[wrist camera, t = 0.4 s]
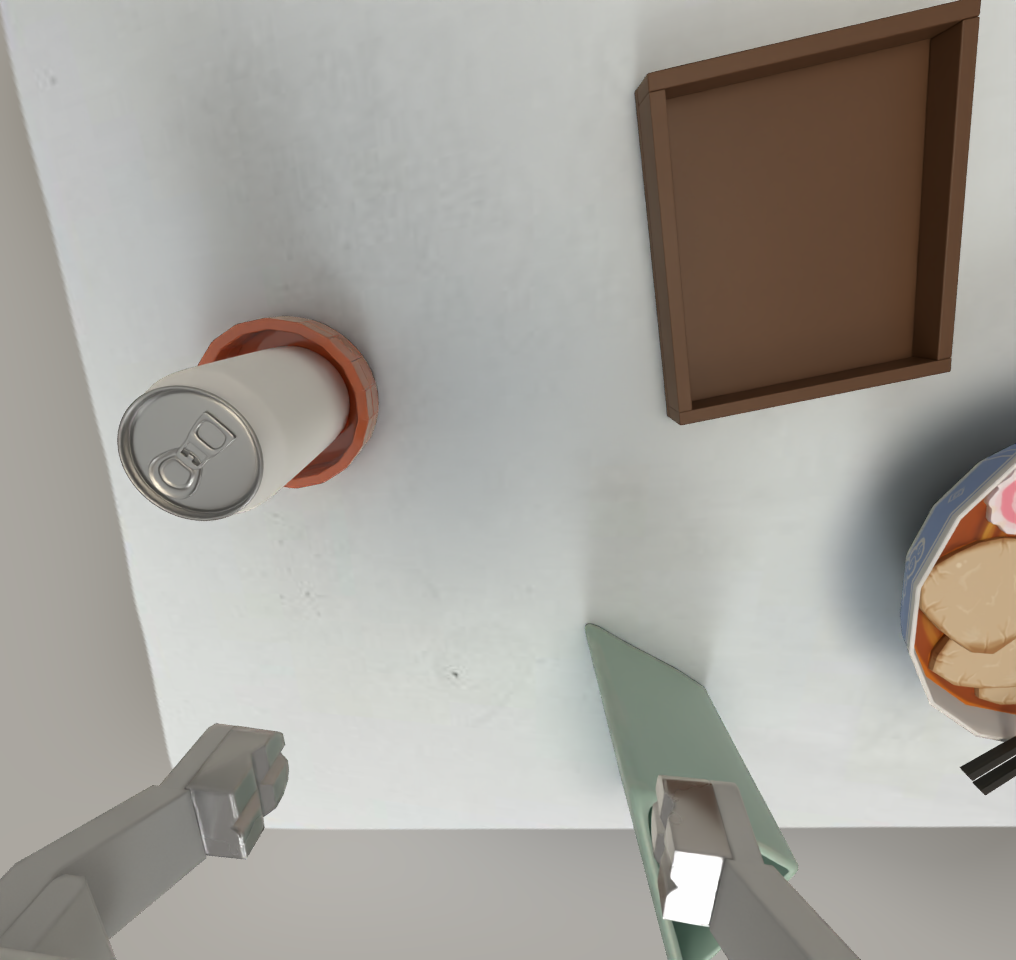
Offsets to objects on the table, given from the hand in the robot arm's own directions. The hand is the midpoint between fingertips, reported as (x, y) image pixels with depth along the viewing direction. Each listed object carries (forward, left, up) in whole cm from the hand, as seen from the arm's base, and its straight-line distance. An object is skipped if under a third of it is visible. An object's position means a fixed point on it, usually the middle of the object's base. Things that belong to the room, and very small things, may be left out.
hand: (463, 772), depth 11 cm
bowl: (-6, -10, -24) cm, 27 cm away
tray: (-9, +20, -24) cm, 32 cm away
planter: (+22, +9, -24) cm, 34 cm away
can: (-6, -10, -24) cm, 27 cm away
